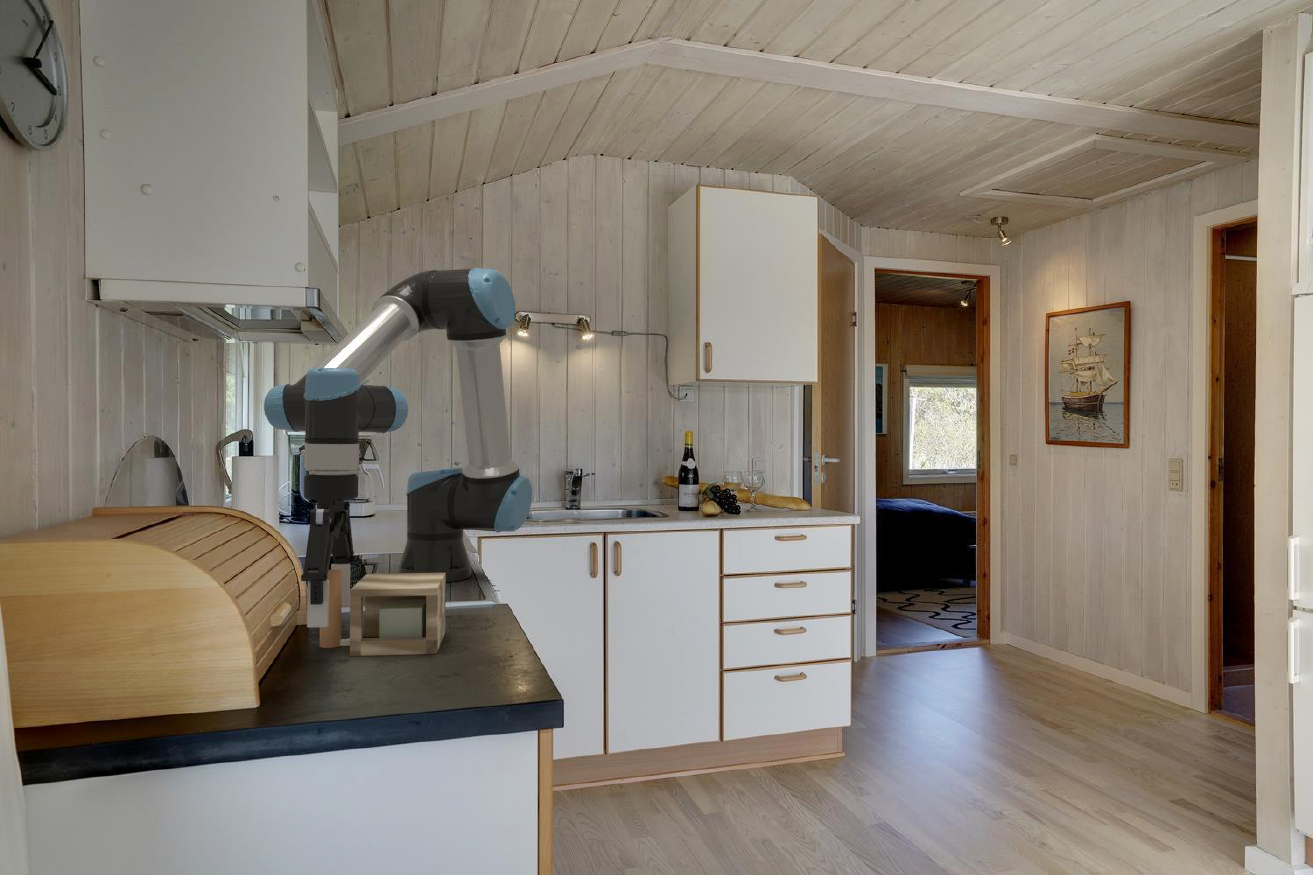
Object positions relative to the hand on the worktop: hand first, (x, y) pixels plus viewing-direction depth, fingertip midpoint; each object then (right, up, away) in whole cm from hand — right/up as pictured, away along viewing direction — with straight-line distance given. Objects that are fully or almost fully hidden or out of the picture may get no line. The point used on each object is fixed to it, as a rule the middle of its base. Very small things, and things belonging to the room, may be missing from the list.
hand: (329, 615), depth 122 cm
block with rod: (+6, -5, +1) cm, 8 cm away
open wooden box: (+10, -5, +2) cm, 11 cm away
